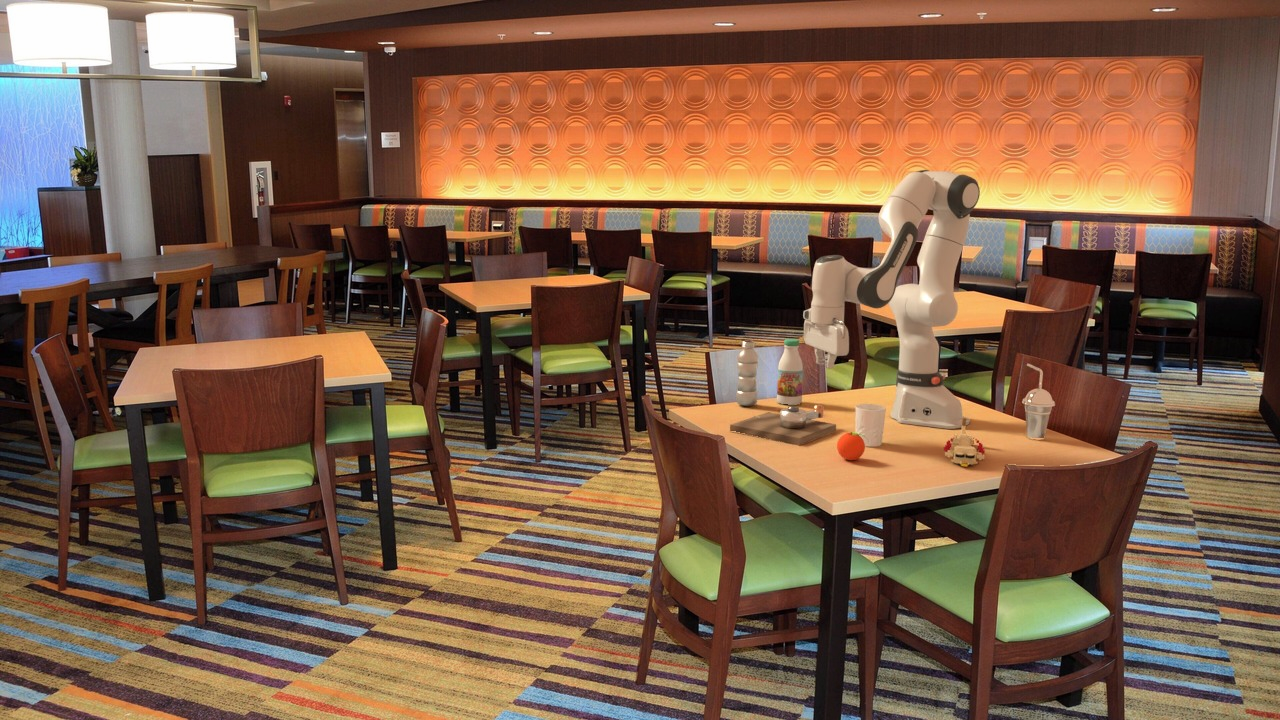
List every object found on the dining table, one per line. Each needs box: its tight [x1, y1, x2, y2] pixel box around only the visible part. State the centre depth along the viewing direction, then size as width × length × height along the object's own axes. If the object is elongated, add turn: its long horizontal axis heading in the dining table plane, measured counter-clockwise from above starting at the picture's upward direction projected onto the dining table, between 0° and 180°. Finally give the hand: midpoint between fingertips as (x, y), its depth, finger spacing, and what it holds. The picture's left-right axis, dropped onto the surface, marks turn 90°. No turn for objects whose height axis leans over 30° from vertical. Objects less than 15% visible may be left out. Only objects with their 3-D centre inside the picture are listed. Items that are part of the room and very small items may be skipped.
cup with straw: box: [1021, 363, 1056, 439], centre depth 286 cm, size 8×9×20 cm
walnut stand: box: [729, 411, 837, 446], centre depth 291 cm, size 22×20×2 cm
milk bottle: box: [776, 338, 804, 406], centre depth 325 cm, size 8×8×20 cm
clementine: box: [836, 432, 869, 461], centre depth 264 cm, size 8×7×7 cm
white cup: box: [854, 403, 887, 448], centre depth 279 cm, size 8×8×10 cm
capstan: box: [779, 404, 824, 428], centre depth 292 cm, size 16×7×5 cm, turn 131°
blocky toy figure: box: [943, 418, 986, 468], centre depth 269 cm, size 10×9×25 cm
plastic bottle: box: [735, 340, 759, 407], centre depth 320 cm, size 6×7×20 cm
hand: (824, 366), depth 285 cm, fingers open, 4 cm apart
